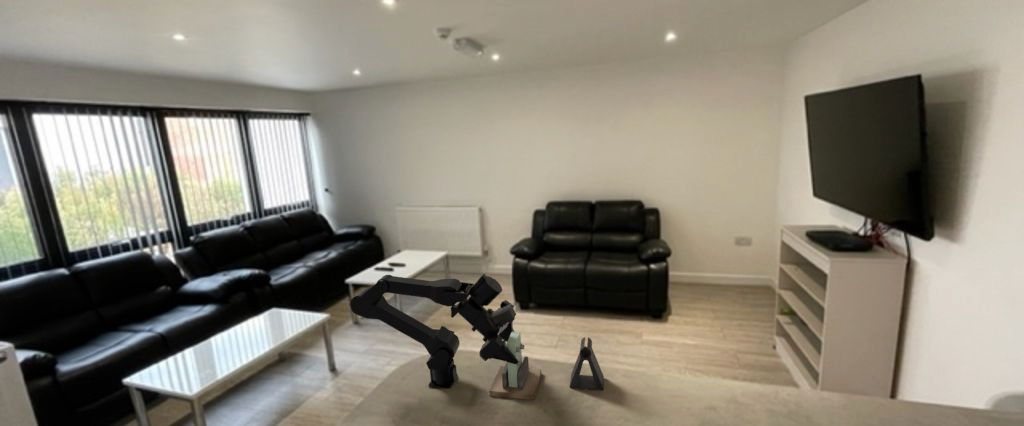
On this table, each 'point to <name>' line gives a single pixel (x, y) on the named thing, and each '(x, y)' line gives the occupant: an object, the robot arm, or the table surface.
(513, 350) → the door panel
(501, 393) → the hinge base
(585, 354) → the grey triangular stand
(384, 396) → the table surface
